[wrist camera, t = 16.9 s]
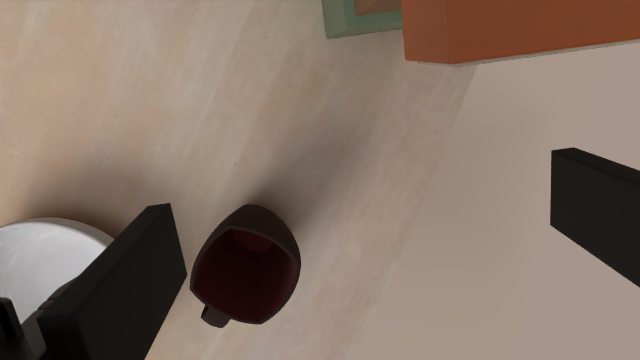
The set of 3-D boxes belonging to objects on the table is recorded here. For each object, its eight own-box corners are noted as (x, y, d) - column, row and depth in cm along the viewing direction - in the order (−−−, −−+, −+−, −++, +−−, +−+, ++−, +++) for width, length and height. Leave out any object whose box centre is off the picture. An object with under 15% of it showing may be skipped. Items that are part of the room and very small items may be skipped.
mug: (312, 215, 54) (315, 260, 43) (256, 302, 57) (245, 365, 46) (240, 175, 53) (223, 210, 41) (187, 267, 56) (157, 324, 44)
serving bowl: (195, 302, 57) (181, 335, 50) (66, 377, 59) (37, 418, 53) (89, 169, 52) (58, 186, 45) (-48, 257, 54) (-97, 286, 47)
